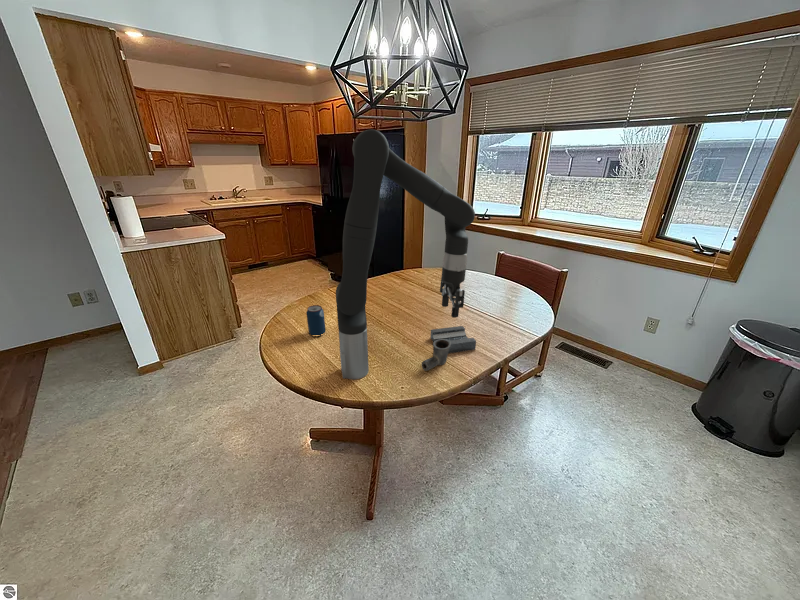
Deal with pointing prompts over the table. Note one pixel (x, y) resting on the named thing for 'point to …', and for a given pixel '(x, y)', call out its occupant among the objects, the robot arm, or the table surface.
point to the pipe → (437, 354)
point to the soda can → (315, 320)
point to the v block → (454, 338)
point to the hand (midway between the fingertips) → (449, 311)
